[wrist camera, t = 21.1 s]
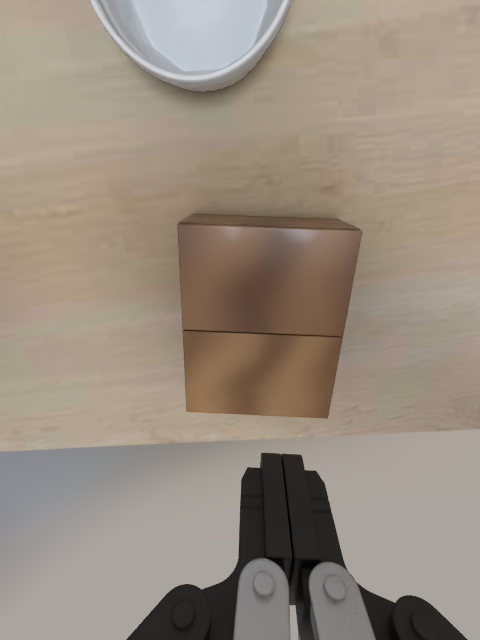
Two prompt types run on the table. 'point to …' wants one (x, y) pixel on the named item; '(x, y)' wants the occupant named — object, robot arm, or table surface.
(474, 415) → the table surface
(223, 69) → the ramekin
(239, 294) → the carton
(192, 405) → the flap
